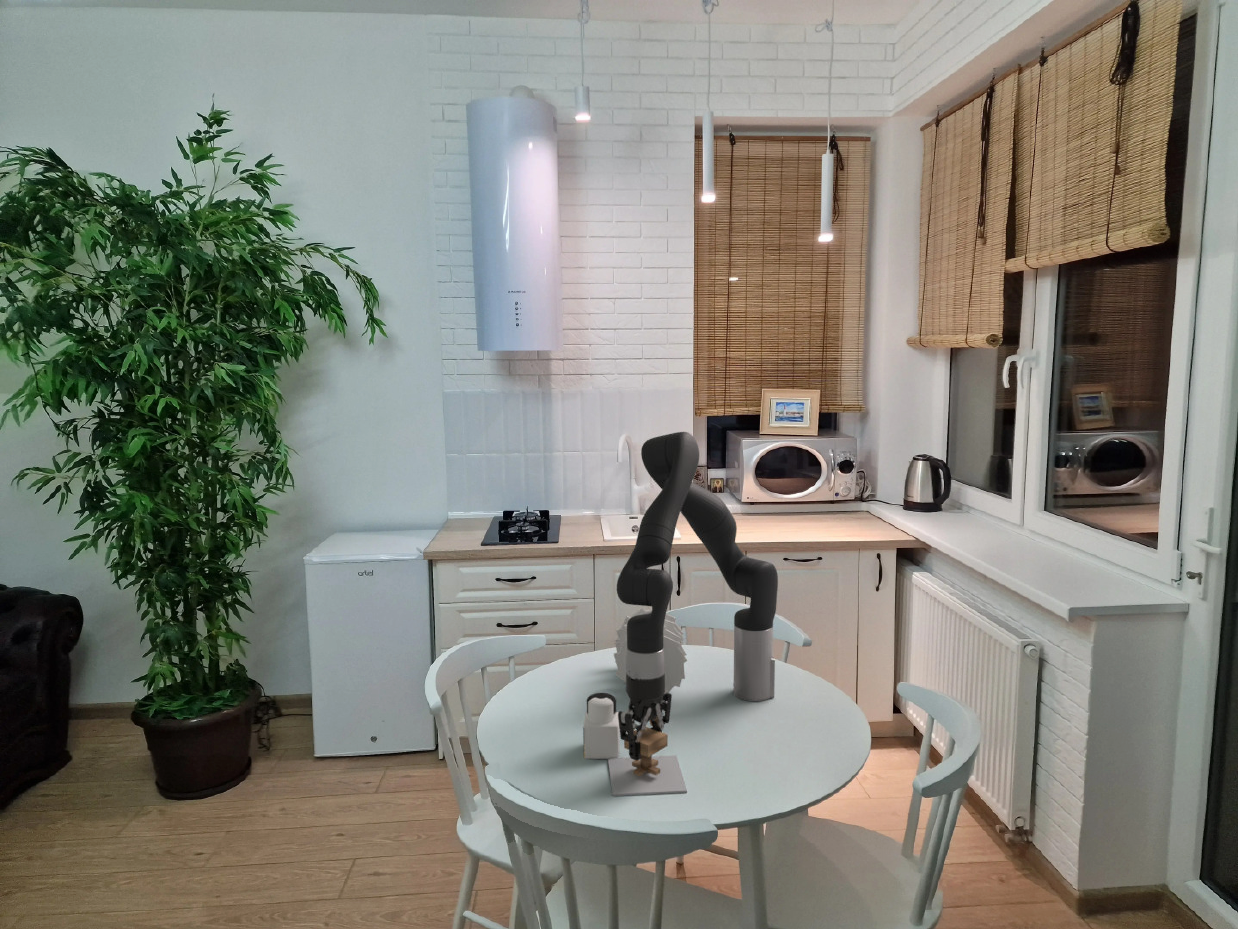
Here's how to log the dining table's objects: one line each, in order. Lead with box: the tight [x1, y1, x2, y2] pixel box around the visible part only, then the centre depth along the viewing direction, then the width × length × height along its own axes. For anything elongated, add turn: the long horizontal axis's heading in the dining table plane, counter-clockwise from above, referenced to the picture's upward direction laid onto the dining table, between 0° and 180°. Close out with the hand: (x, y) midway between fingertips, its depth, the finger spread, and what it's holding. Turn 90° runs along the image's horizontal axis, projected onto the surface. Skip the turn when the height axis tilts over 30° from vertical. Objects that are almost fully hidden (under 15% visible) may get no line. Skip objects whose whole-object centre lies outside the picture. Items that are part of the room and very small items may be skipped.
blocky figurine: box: [582, 692, 621, 760], centre depth 173 cm, size 7×7×12 cm
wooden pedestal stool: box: [623, 726, 669, 776], centre depth 163 cm, size 6×6×7 cm
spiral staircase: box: [613, 607, 688, 693], centre depth 208 cm, size 18×18×25 cm
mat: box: [607, 754, 688, 797], centre depth 163 cm, size 14×14×1 cm
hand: (645, 752), depth 163 cm, fingers closed on wooden pedestal stool, 6 cm apart
